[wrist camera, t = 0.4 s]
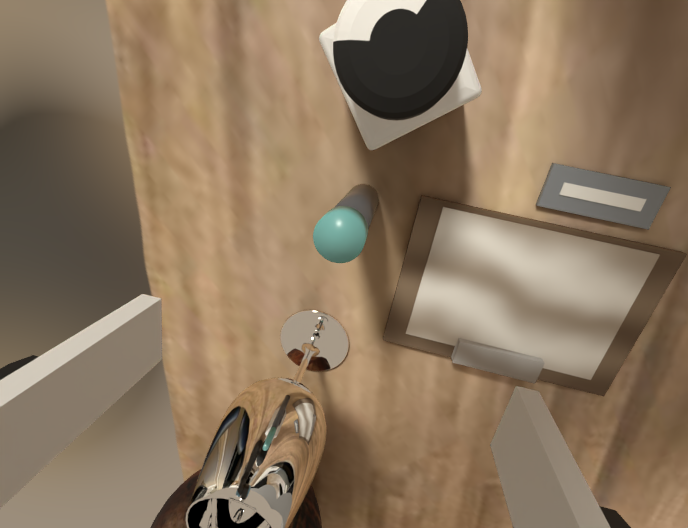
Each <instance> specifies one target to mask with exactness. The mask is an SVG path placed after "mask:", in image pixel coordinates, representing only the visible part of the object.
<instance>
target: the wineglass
mask: <svg viewBox="0 0 688 528" xmlns="http://www.w3.org/2000/svg"><path fill="white" fill-rule="evenodd" d="M280 340H281V345H282V348H283V350H284V352H285V353H286V355H287V356H288V358H289V359H291V360H292V361H293V362H294V363H295V364H297V365H298V366H299V368H298V370H297V373H296V375H295V377H294V379H293V380H292V379H288V378H282V377H277V378H270V379H265V380H261V381H258V382H256V383H253V384H252V385H250V386H249V387H247V388H246V389H245V390H243V391H242V392H241V393H240V394H239V395H238V396H237V397H236V399H235V400H234V401H233V402H232V404H231V405H230V406H229V407H228V409H227V411H226V413H225V414H224V416H223V418H222V420H221V422H220V424H219V426H218V428H217V430H216V433H215V435H214V437H213V440H212V442H211V445H210V447H209V450H208V453H207V455H206V458H205V461H204V463H203V466H202V468H201V471H200V474H199V477H198V480H197V483H196V486H195V489H194V492H193V495H192V498H191V501H190V503H189V506H188V509H187V512H186V525H187V528H289V527H290V525H291V523H292V521H293V519H294V517H295V515H296V513H297V512H298V510H299V508H300V506H301V504H302V502H303V500H304V498H305V496H306V494H307V492H308V489H309V487H310V485H311V483H312V481H313V479H314V477H315V474H316V472H317V469H318V466H319V464H320V461H321V458H322V455H323V451H324V448H325V442H326V435H327V427H326V420H325V415H324V411H323V409H322V407H321V405H320V403H319V401H318V400H317V398H316V397H315V395H314V394H313V393H312V392H311V391H310V390H309V389H308V388H307V387H306V386H304V385H303V384H301V381H302V378H303V375H304V373H305V370H306V369H307V370H311V371H326V370H330V369H332V368H335V367H336V366H338V365H339V364H340V363H341V362H342V361H343V360H344V359H345V357H346V355H347V353H348V349H349V340H348V335H347V333H346V330H345V329H344V327H343V326H342V324H341V323H340V322H339V321H338V320H337V319H335V318H334V317H333V316H331V315H329V314H327V313H325V312H322V311H318V310H303V311H299V312H297V313H295V314H293V315H291V316H290V317H289V318H288V319H287V320H286V321H285V323H284V324H283V326H282V329H281V334H280Z"/></svg>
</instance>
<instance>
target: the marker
mask: <svg viewBox="0 0 688 528" xmlns="http://www.w3.org/2000/svg"><path fill="white" fill-rule="evenodd" d="M377 205H378V194H377V192H376V190H375V189H374V188H373V187H371V186H370V185H367V184H360V185H357V186H355V187H354V188H352V189H351V190H350V192H349V193H348V194H347V195H346V196H345V197H344V198H343V199H342V200H341V201H340V202H339V203H338V204H337V205H336V206H335V207H334V208H333V209H331V210H330V211H328V212H327V213H326V214H325V215H324V216H323V217H322V218H321V219H320V220H319V222H318V223H317V225H316V226H315V229H314V233H313V240H314V244H315V247H316V249H317V251H318V252H319V253H320V254H321V255H322V256H323V257H324V258H325V259H327V260H329V261H331V262H335V263H345V262H349V261H351V260H353V259H355V258H356V257H357V256H358V255H359V254H360V253H361V251H362V249H363V247H364V244H365V241H366V239H367V235H368V229H369V226H370V224H371V221H372V218H373V216H374V213H375V210H376V208H377Z"/></svg>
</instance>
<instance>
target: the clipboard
mask: <svg viewBox="0 0 688 528" xmlns="http://www.w3.org/2000/svg"><path fill="white" fill-rule="evenodd" d="M686 255H687V254H685V253H683V252H680V251H675V250H671V249H666V248H661V247H657V246H652V245H648V244H643V243H638V242H634V241H629V240H625V239H620V238H615V237H611V236H606V235H602V234H597V233H593V232H588V231H583V230H579V229H574V228H570V227H565V226H560V225H556V224H551V223H547V222H542V221H537V220H533V219H528V218H524V217H519V216H514V215H510V214H505V213H501V212H496V211H491V210H487V209H482V208H478V207H473V206H469V205H464V204H459V203H455V202H450V201H446V200H441V199H436V198H432V197H427V196H423V195H422V196H421V199H420V203H419V207H418V211H417V214H416V218H415V222H414V225H413V229H412V233H411V236H410V240H409V244H408V247H407V251H406V255H405V259H404V262H403V266H402V270H401V273H400V277H399V281H398V284H397V288H396V292H395V295H394V299H393V303H392V307H391V310H390V314H389V318H388V321H387V325H386V329H385V332H384V336H383V340H384V341H388V342H392V343H396V344H400V345H404V346H408V347H412V348H416V349H419V350H423V351H427V352H431V353H435V354H439V355H443V356H447V357H451V358H452V363H456V364H460V365H464V366H468V367H472V368H476V369H480V370H484V371H488V372H491V373H495V374H499V375H503V376H507V377H511V378H515V379H519V380H523V381H527V382H531V383H536V381H537V379H538V380H542V381H546V382H550V383H554V384H558V385H562V386H566V387H569V388H573V389H577V390H581V391H585V392H589V393H593V394H597V395H601V396H604V395H605V394H606V392H607V390H608V389H609V387H610V385H611V383H612V382H613V380H614V378H615V377H616V375H617V373H618V371H619V370H620V368H621V366H622V365H623V363H624V361H625V359H626V358H627V356H628V354H629V353H630V351H631V349H632V347H633V346H634V344H635V342H636V341H637V339H638V337H639V335H640V334H641V332H642V330H643V329H644V327H645V325H646V323H647V322H648V320H649V318H650V317H651V315H652V313H653V311H654V310H655V308H656V306H657V305H658V303H659V301H660V299H661V298H662V296H663V294H664V293H665V291H666V289H667V287H668V286H669V284H670V282H671V281H672V279H673V277H674V275H675V274H676V272H677V270H678V269H679V267H680V265H681V263H682V262H683V260H684V258H685V257H686Z"/></svg>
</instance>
